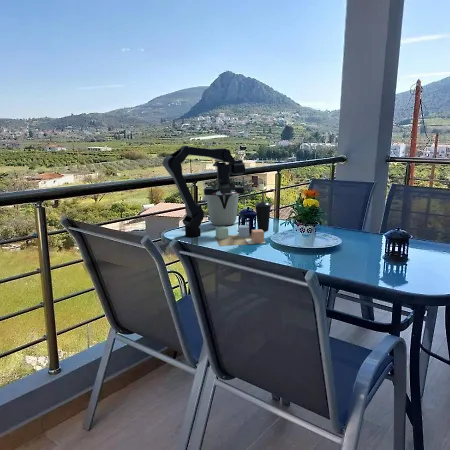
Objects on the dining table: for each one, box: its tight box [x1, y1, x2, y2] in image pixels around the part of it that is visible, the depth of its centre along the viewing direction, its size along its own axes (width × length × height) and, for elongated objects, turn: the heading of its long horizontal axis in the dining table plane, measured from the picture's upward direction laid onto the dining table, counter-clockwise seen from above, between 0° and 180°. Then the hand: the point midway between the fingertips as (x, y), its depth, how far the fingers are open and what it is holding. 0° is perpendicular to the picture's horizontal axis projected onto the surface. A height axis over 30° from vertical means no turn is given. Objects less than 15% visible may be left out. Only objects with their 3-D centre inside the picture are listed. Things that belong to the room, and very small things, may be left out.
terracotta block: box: [251, 228, 265, 242], centre depth 174 cm, size 4×4×4 cm
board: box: [214, 233, 267, 247], centre depth 178 cm, size 20×17×1 cm
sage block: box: [215, 226, 229, 239], centre depth 181 cm, size 4×4×4 cm
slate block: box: [238, 224, 250, 238], centre depth 183 cm, size 4×4×4 cm
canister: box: [205, 192, 240, 227], centre depth 212 cm, size 18×18×21 cm
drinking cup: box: [254, 190, 272, 232], centre depth 191 cm, size 8×8×20 cm
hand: (224, 208), depth 191 cm, fingers closed
